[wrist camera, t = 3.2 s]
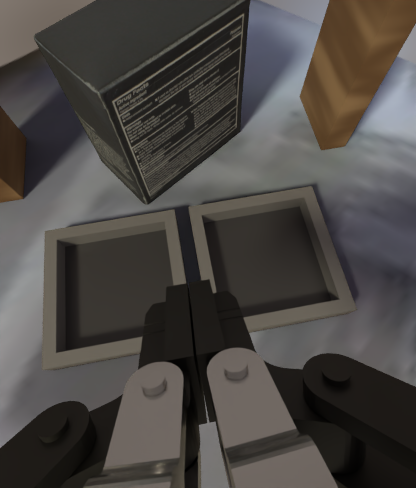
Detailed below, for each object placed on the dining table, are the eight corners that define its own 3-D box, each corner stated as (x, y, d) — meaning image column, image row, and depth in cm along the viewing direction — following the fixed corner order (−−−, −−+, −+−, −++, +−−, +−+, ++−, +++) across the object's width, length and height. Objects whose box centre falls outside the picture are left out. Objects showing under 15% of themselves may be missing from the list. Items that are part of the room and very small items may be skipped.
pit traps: (54, 370, 19) (41, 369, 18) (55, 239, 23) (44, 231, 21) (347, 313, 20) (356, 309, 19) (306, 196, 24) (311, 186, 22)
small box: (191, 91, 28) (178, -56, 19) (243, 131, 26) (259, -9, 17) (96, 158, 26) (24, 28, 16) (146, 208, 24) (100, 95, 14)
